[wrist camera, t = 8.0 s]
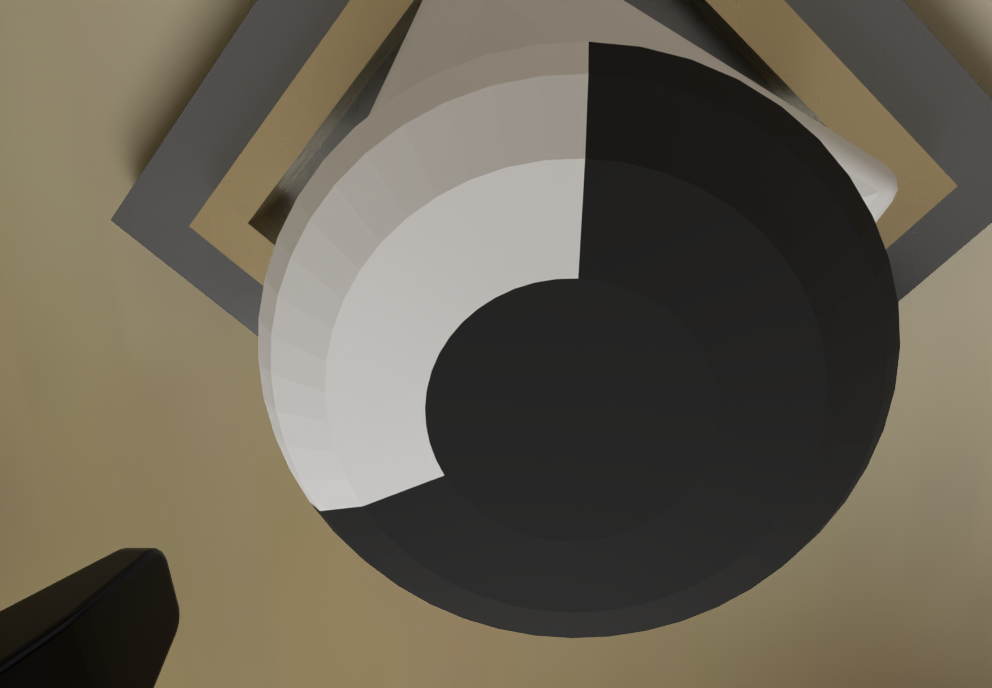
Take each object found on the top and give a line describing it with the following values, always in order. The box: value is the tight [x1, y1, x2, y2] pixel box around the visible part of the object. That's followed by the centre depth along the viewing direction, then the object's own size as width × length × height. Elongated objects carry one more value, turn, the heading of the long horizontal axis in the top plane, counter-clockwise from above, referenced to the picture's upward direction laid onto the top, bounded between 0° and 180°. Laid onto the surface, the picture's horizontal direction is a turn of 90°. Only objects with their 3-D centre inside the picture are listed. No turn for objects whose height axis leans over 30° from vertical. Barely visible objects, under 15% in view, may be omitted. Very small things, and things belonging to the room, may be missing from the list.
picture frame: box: [111, 0, 992, 336], centre depth 17 cm, size 16×16×3 cm
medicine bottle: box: [258, 0, 900, 638], centre depth 12 cm, size 7×7×12 cm
